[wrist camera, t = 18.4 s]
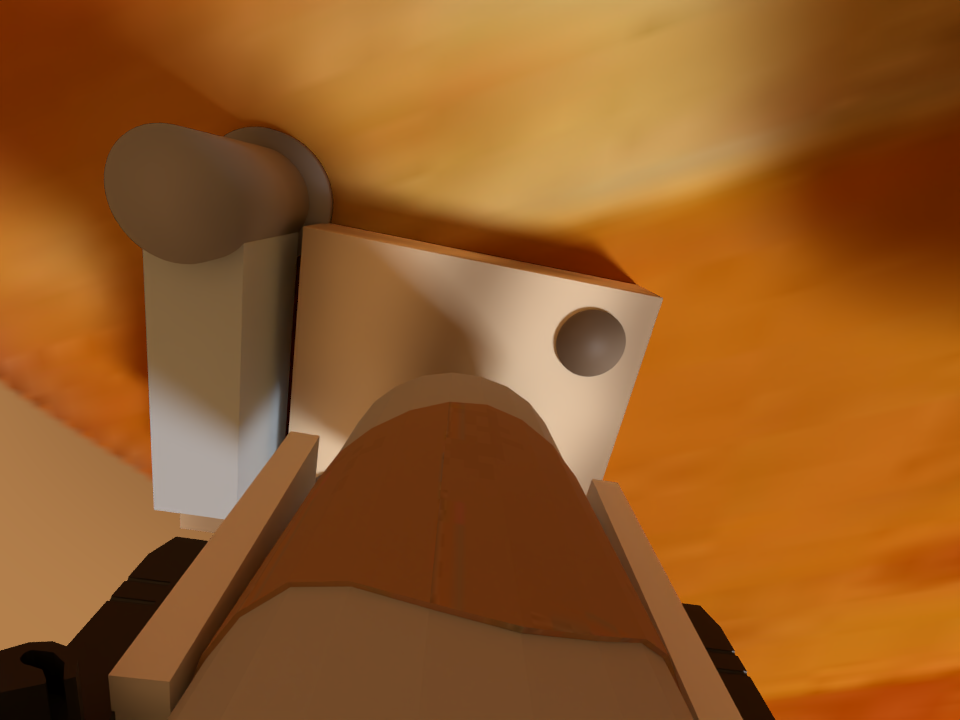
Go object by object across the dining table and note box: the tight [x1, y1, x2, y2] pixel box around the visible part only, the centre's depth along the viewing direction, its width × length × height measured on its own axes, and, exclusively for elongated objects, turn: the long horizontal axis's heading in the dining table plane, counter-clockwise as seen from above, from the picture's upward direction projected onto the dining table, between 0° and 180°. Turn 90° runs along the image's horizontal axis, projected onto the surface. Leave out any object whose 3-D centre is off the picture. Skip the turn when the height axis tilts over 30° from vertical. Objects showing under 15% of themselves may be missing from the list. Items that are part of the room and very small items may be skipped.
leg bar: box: [104, 123, 309, 519], centre depth 15 cm, size 12×3×5 cm, turn 169°
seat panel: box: [180, 127, 663, 533], centre depth 17 cm, size 16×15×3 cm
